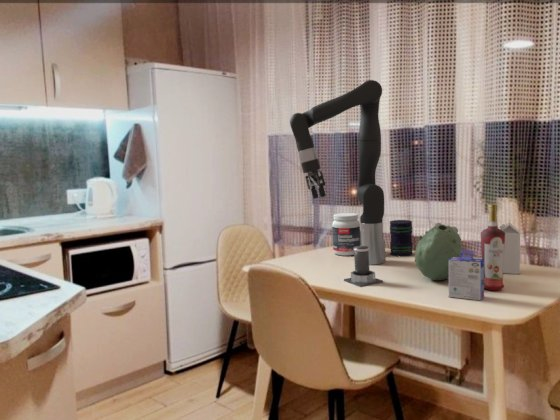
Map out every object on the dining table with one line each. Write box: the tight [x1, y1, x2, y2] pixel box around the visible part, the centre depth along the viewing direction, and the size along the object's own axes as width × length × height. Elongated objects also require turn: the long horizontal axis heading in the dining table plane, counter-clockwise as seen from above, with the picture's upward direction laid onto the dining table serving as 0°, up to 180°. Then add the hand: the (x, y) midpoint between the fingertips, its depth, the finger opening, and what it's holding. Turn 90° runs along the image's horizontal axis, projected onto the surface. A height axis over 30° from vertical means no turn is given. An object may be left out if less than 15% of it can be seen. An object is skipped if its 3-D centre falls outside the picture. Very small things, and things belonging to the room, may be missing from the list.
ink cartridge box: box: [448, 250, 485, 301], centre depth 152 cm, size 10×6×14 cm, turn 58°
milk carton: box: [498, 219, 521, 275], centre depth 179 cm, size 7×7×19 cm
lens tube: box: [353, 245, 371, 275], centre depth 176 cm, size 5×5×12 cm
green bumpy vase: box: [414, 222, 464, 281], centre depth 173 cm, size 16×19×20 cm
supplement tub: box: [331, 212, 361, 257], centre depth 225 cm, size 13×13×18 cm
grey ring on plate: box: [343, 270, 384, 287], centre depth 176 cm, size 10×10×3 cm
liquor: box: [480, 203, 505, 292], centre depth 158 cm, size 7×7×28 cm
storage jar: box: [389, 219, 414, 257], centre depth 218 cm, size 10×10×15 cm
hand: (319, 197), depth 203 cm, fingers open, 8 cm apart
